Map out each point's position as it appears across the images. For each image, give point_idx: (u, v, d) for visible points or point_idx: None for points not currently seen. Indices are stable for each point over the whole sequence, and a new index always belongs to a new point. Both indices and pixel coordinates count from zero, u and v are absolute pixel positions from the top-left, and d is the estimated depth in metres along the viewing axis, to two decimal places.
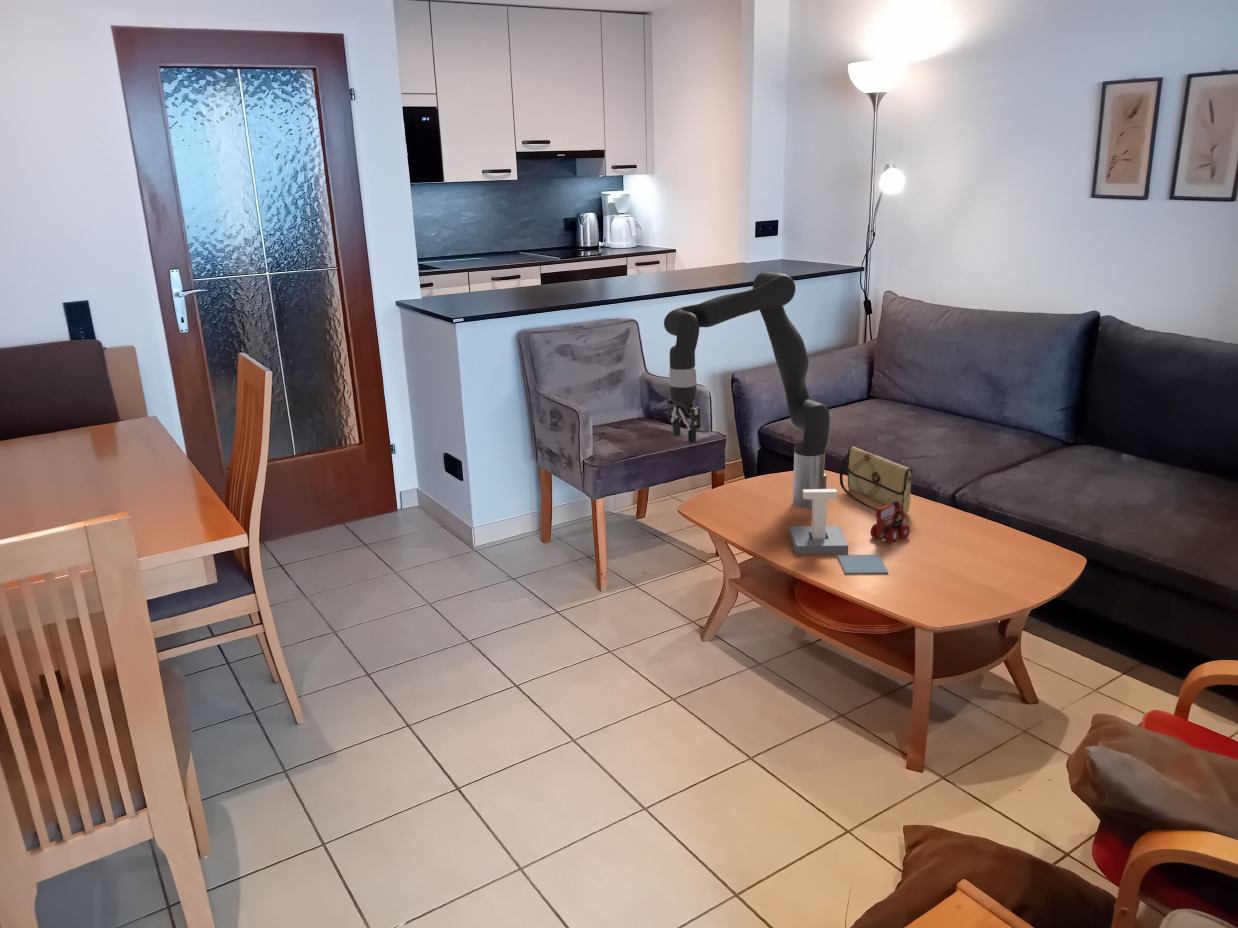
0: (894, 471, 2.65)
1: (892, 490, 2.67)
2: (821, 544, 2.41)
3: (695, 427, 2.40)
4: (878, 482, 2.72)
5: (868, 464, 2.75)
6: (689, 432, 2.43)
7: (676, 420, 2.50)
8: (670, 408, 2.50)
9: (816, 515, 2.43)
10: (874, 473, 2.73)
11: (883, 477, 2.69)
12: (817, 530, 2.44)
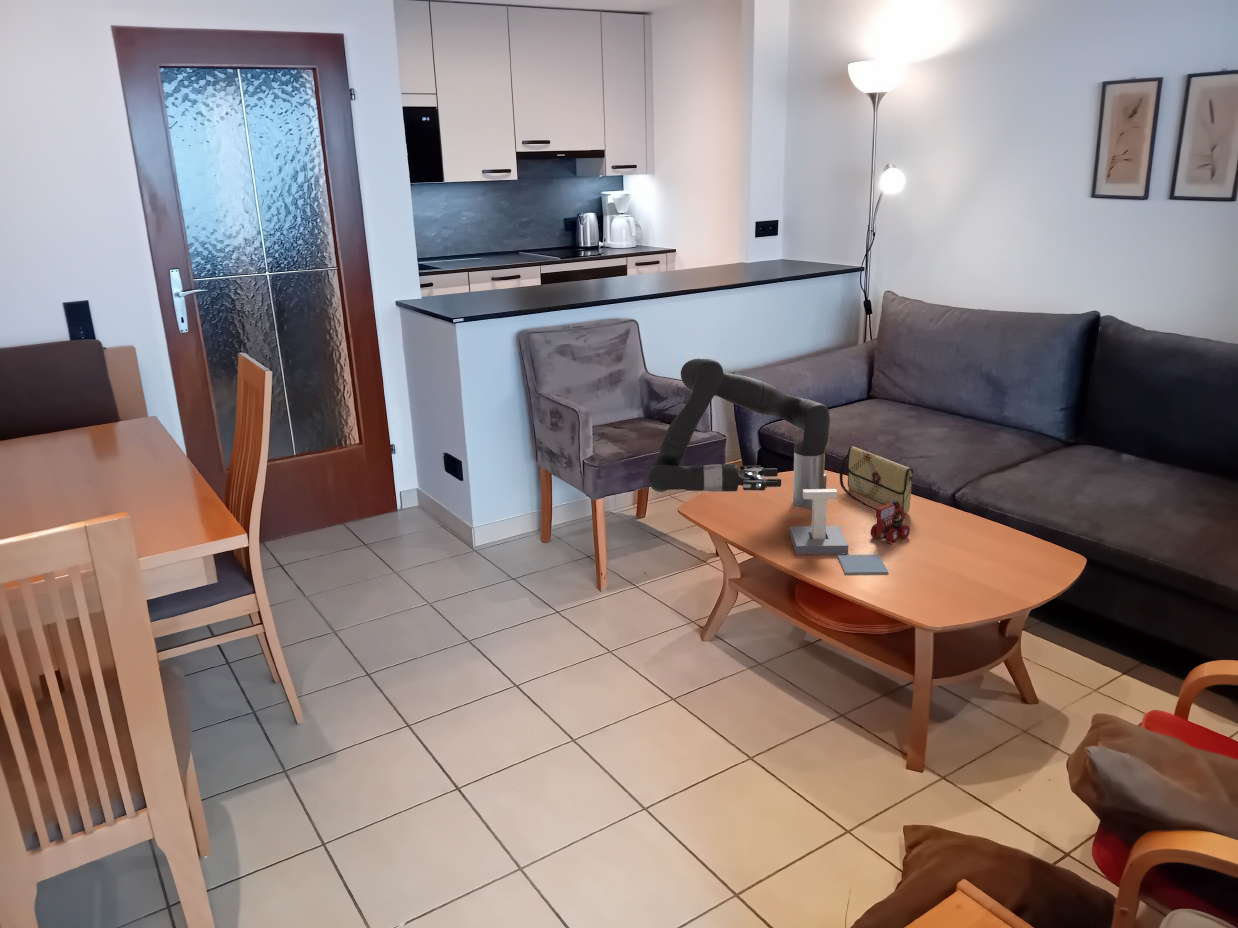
0: (894, 470, 2.65)
1: (892, 490, 2.67)
2: (821, 544, 2.41)
3: (762, 487, 2.35)
4: (878, 481, 2.72)
5: (868, 464, 2.75)
6: (769, 486, 2.38)
7: (761, 472, 2.46)
8: None
9: (816, 515, 2.43)
10: (874, 473, 2.73)
11: (884, 477, 2.69)
12: (817, 530, 2.44)
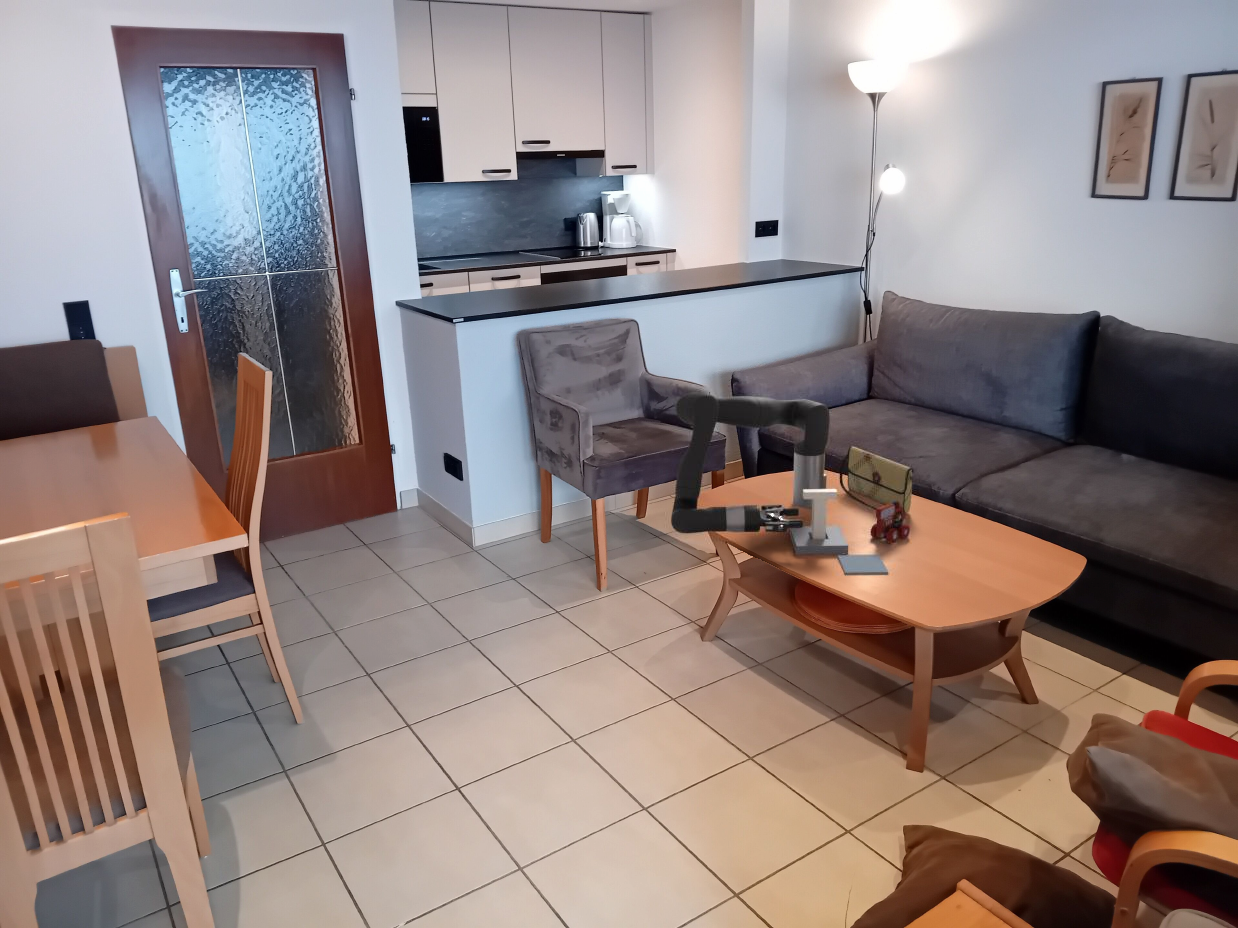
0: (895, 470, 2.65)
1: (893, 490, 2.67)
2: (821, 544, 2.41)
3: (785, 529, 2.39)
4: (879, 481, 2.72)
5: (869, 464, 2.75)
6: None
7: (782, 512, 2.49)
8: None
9: (816, 515, 2.43)
10: (874, 473, 2.73)
11: (884, 477, 2.70)
12: (817, 530, 2.44)
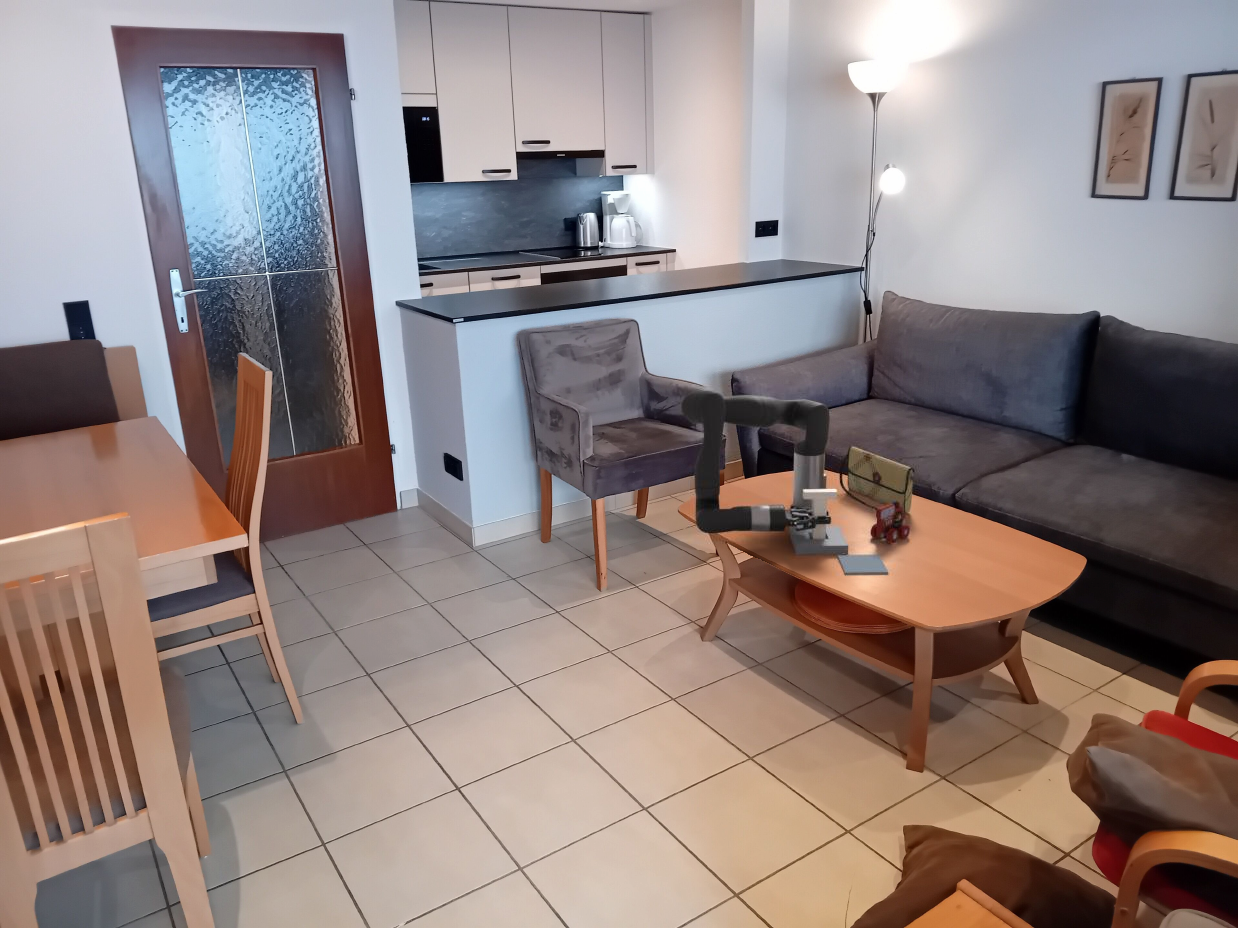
0: (895, 470, 2.65)
1: (893, 490, 2.67)
2: (821, 544, 2.41)
3: (813, 525, 2.41)
4: (879, 481, 2.72)
5: (869, 464, 2.75)
6: (819, 523, 2.43)
7: None
8: None
9: (816, 515, 2.43)
10: (875, 473, 2.73)
11: (884, 476, 2.70)
12: (817, 530, 2.44)
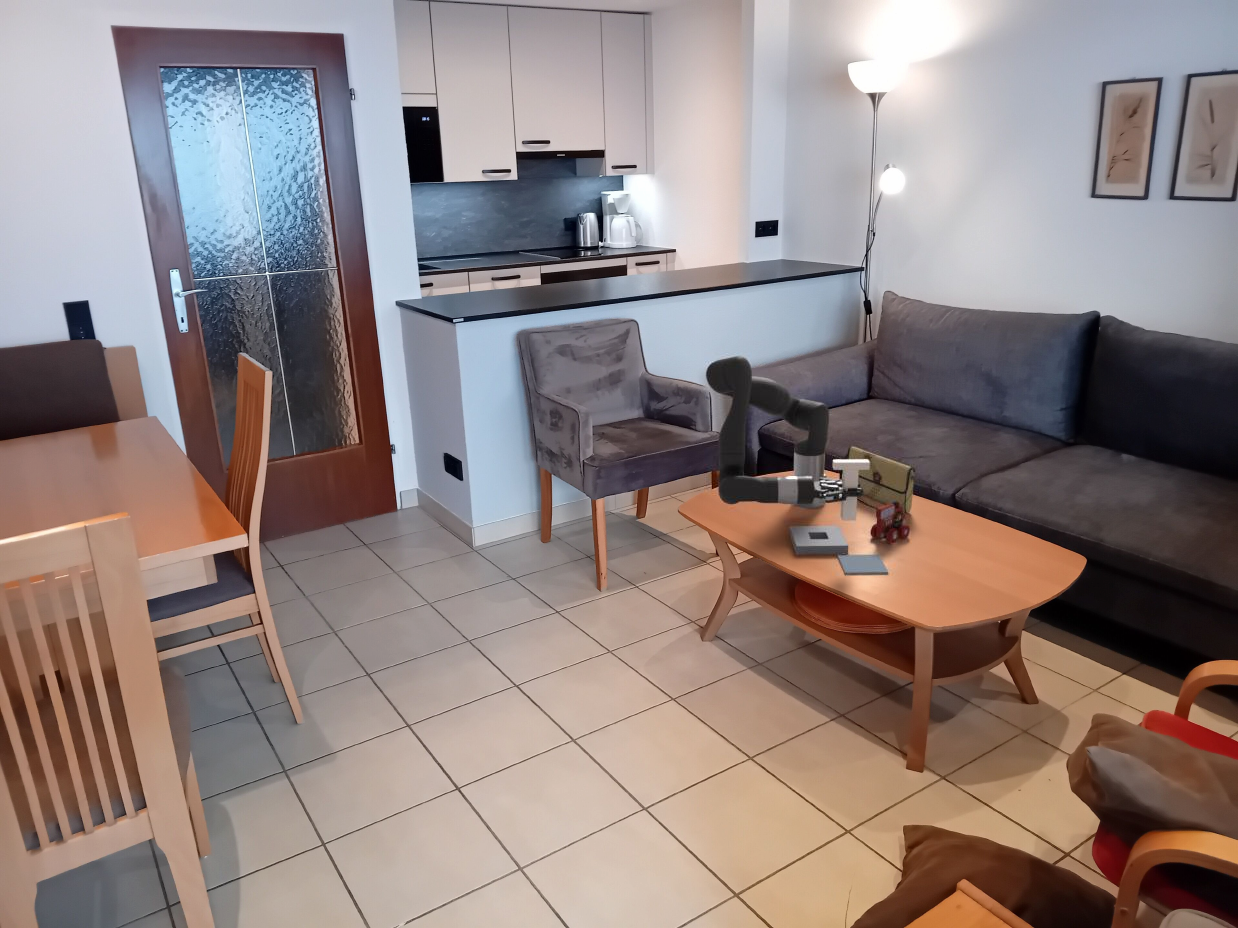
0: (896, 470, 2.65)
1: (894, 489, 2.67)
2: (821, 544, 2.41)
3: (844, 497, 2.26)
4: (879, 481, 2.72)
5: None
6: (850, 496, 2.29)
7: None
8: None
9: (847, 487, 2.29)
10: (875, 473, 2.73)
11: (885, 476, 2.70)
12: (847, 503, 2.30)
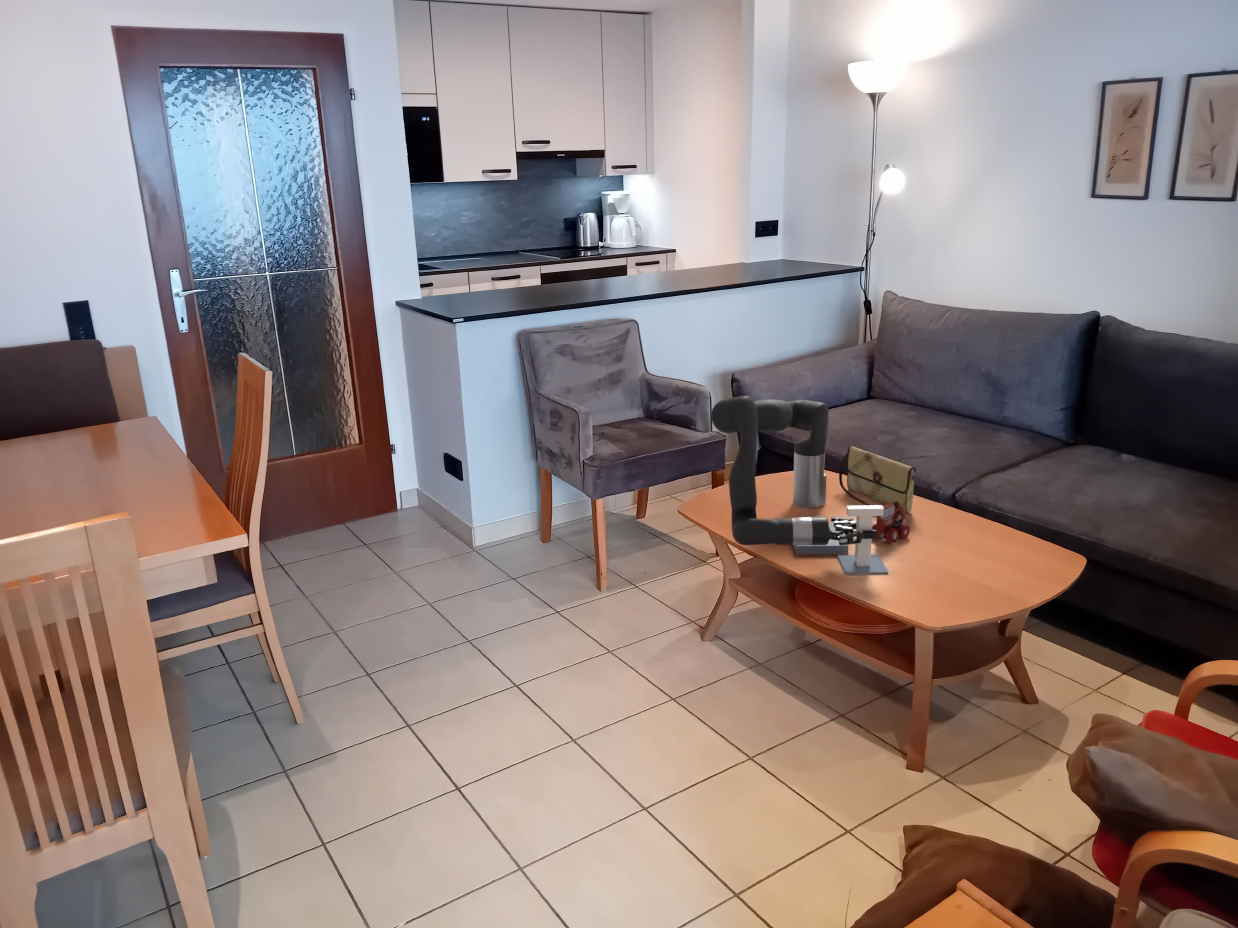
0: (897, 470, 2.65)
1: (895, 489, 2.67)
2: None
3: (858, 540, 2.25)
4: (879, 481, 2.72)
5: (869, 463, 2.75)
6: None
7: (855, 526, 2.33)
8: None
9: None
10: (875, 472, 2.73)
11: (885, 476, 2.70)
12: (861, 549, 2.30)
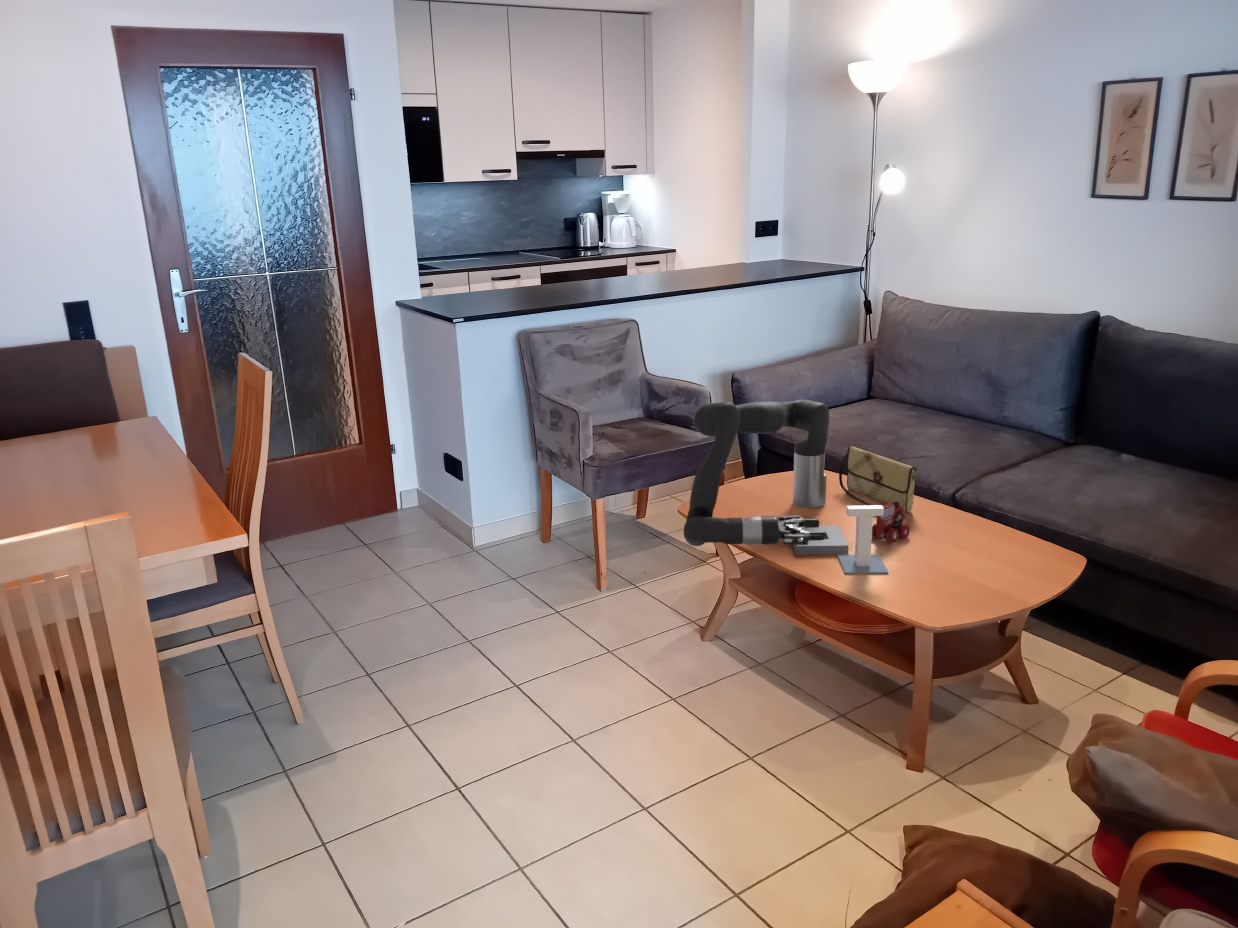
0: (897, 470, 2.65)
1: (895, 489, 2.67)
2: (821, 544, 2.41)
3: (805, 542, 2.25)
4: (880, 481, 2.72)
5: (869, 463, 2.75)
6: (811, 539, 2.27)
7: (801, 523, 2.35)
8: None
9: (861, 533, 2.29)
10: (875, 472, 2.73)
11: (885, 476, 2.70)
12: (861, 549, 2.30)
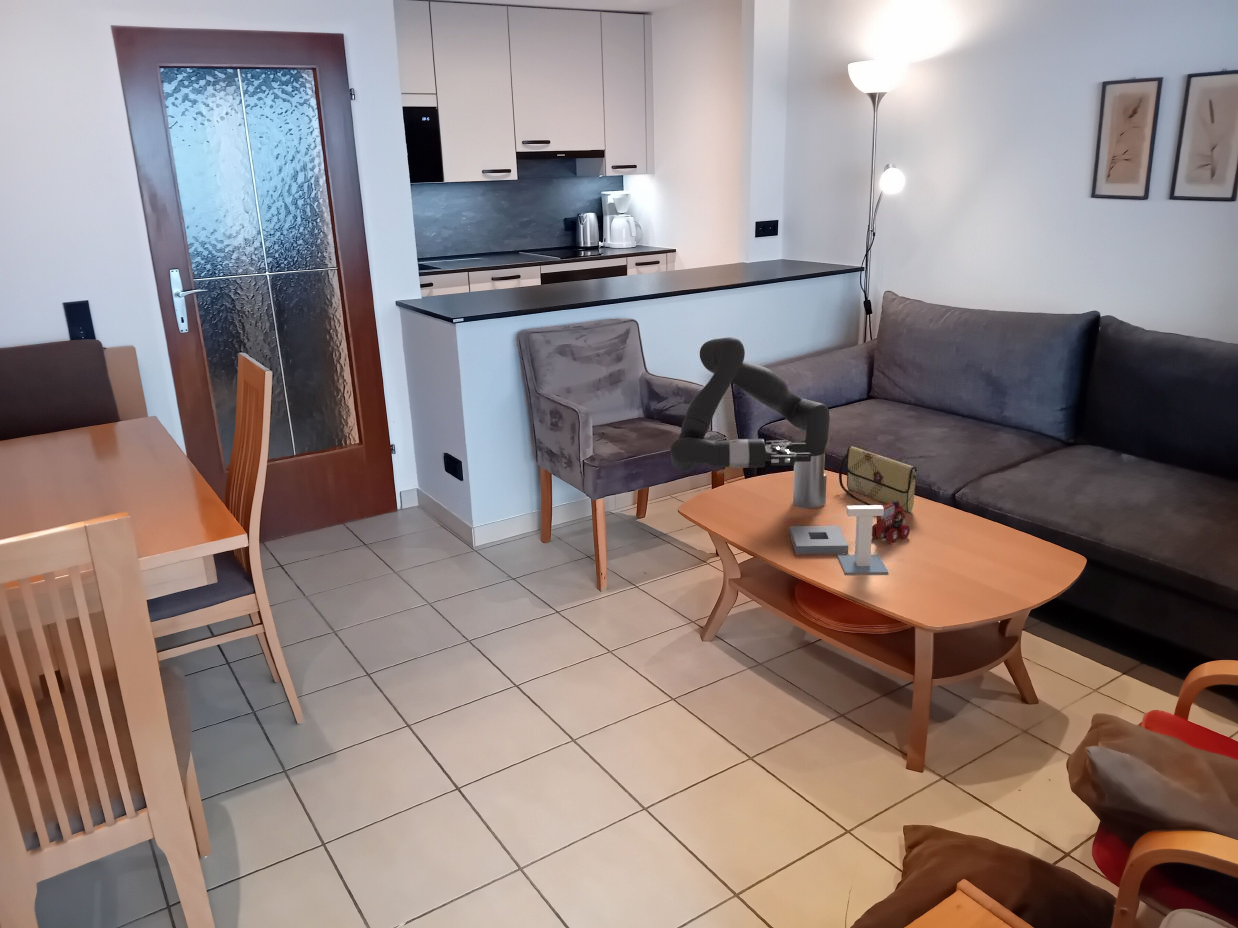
0: (898, 469, 2.66)
1: (896, 489, 2.68)
2: (821, 544, 2.41)
3: (792, 462, 2.24)
4: (880, 481, 2.73)
5: (869, 463, 2.75)
6: (798, 461, 2.26)
7: (789, 447, 2.34)
8: None
9: (861, 533, 2.29)
10: (876, 472, 2.74)
11: (886, 476, 2.70)
12: (861, 549, 2.30)
